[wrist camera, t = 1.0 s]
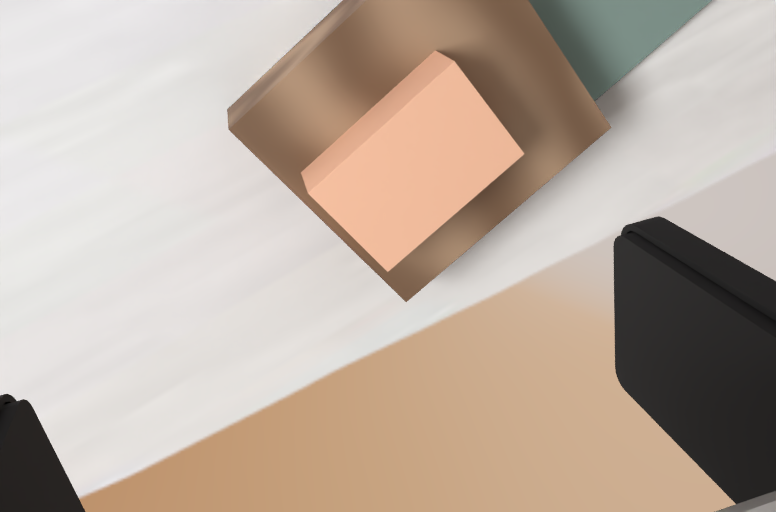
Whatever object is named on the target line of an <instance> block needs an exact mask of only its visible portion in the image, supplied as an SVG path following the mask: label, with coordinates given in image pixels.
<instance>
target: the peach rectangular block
mask: <svg viewBox="0 0 776 512" xmlns="http://www.w3.org/2000/svg"><path fill="white" fill-rule="evenodd" d="M523 155H524V153H523V151H522V150H521V149H520V147H519V146H518V145H517V143H516V142H515V141H514V139H513V138H512V137H511V135H510V134H509V133H508V131H507V130H506V129H505V127H504V126H503V125H502V123H501V122H500V121H499V119H498V118H497V117H496V115H495V114H494V113H493V112H492V110H491V109H490V108H489V106H488V105H487V104H486V102H485V101H484V100H483V98H482V97H481V96H480V94H479V93H478V92H477V90H476V89H475V88H474V86H473V85H472V84H471V82H470V81H469V80H468V78H467V77H466V76H465V74H464V73H463V72H462V70H461V69H460V68H459V67H458V65H457V64H456V63H455V61H453V60H452V59H450V58H448V57H446V56H444V55H443V54H441V53H439V52H437V51H436V50H435V51H434V52H433V53H432V54H431V55H430V56H429V57H427V58H426V59H425V60H424V61H423V62H422V63H421V64H420V65H419V66H418V67H416V68H415V69H414V70H413V71H412V72H411V73H410V74H409V75H408V76H407V77H405V78H404V79H403V80H402V81H401V82H400V83H399V84H398V85H397V86H396V87H394V88H393V89H392V90H391V91H390V92H389V93H388V94H387V95H386V96H385V97H383V98H382V99H381V100H380V101H379V102H378V103H377V104H376V105H375V106H374V107H372V108H371V109H370V110H369V111H368V112H367V113H366V114H365V115H364V116H362V117H361V118H360V119H359V120H358V121H357V122H356V123H355V124H354V125H353V126H351V127H350V128H349V129H348V130H347V131H346V132H345V133H344V134H343V135H342V136H340V137H339V138H338V139H337V140H336V141H335V142H334V143H333V144H332V145H331V146H329V147H328V148H327V149H326V150H325V151H324V152H323V153H322V154H321V155H320V156H318V157H317V158H316V159H315V160H314V161H313V162H312V163H311V164H310V165H309V166H307V167H306V168H305V169H304V170H303V171H302V172H301V175H302V177H303V180H304V183H305V186H306V189H307V192H308V194H309V195H310V196H311V197H312V198H313V199H314V200H315V201H316V202H317V203H318V204H319V205H320V206H321V207H322V208H323V209H324V210H325V211H326V212H327V213H328V214H329V215H330V216H332V217H333V218H334V219H335V220H336V221H337V222H338V223H339V224H340V225H341V226H342V227H343V228H344V229H345V230H346V231H347V232H348V233H349V234H350V235H351V236H352V237H353V238H354V239H355V240H356V241H357V242H358V243H359V244H360V245H361V246H362V247H363V248H364V249H365V250H366V251H367V252H368V253H369V254H370V255H371V256H372V257H373V258H374V259H375V260H376V261H377V262H378V263H379V264H380V265H381V266H382V267H383V268H384V269H385V270H386V271H387V272H388V271H390V270H391V269H392V268H393V267H394V266H395V265H397V264H398V263H399V262H400V261H401V260H402V259H403V258H405V257H406V256H407V255H408V254H409V253H410V252H412V251H413V250H414V249H415V248H416V247H417V246H419V245H420V244H421V243H422V242H423V241H424V240H425V239H427V238H428V237H429V236H430V235H431V234H432V233H434V232H435V231H436V230H437V229H438V228H439V227H441V226H442V225H443V224H444V223H445V222H446V221H447V220H449V219H450V218H451V217H452V216H453V215H454V214H456V213H457V212H458V211H459V210H460V209H461V208H463V207H464V206H465V205H466V204H467V203H468V202H469V201H471V200H472V199H473V198H474V197H475V196H476V195H478V194H479V193H480V192H481V191H482V190H483V189H485V188H486V187H487V186H488V185H489V184H490V183H491V182H493V181H494V180H495V179H496V178H497V177H498V176H500V175H501V174H502V173H503V172H504V171H505V170H507V169H508V168H509V167H510V166H511V165H512V164H513V163H515V162H516V161H517V160H518V159H519V158H520V157H522V156H523Z"/></svg>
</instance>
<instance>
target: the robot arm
mask: <svg viewBox="0 0 776 512" xmlns="http://www.w3.org/2000/svg"><path fill="white" fill-rule="evenodd" d="M614 308H615V369H616V374H617V377H618V380H619V382H620V384H621V386H622V387H623V388H624V390H625V391H626V392H627V393H628V394H629V395H630V396H631V397H632V398H633V399H634V400H635V401H636V402H637V403H638V404H639V405H640V406H641V407H642V408H643V409H644V410H645V411H646V412H647V413H648V414H649V415H650V416H651V417H652V418H653V419H654V420H655V421H656V423H657V424H658V425H659V426H660V427H661V428H662V429H663V430H664V431H665V432H666V433H667V434H668V435H669V436H670V437H671V438H672V439H673V440H674V441H675V442H676V443H677V444H678V445H679V446H680V447H681V448H682V449H683V450H684V451H685V452H686V453H687V454H688V455H689V456H690V457H691V458H692V459H693V460H694V461H695V462H696V463H697V464H698V465H699V467H700V468H701V469H702V470H704V472H705V473H706V474H707V475H708V476H709V477H710V478H711V479H712V480H713V481H714V482H715V483H716V484H717V485H718V486H719V487H720V488H721V489H722V490H723V491H724V492H725V493H726V494H727V495H728V496H729V497H730V498H731V499H732V500H733V501H734V502H735V503H736V505H733V506H730V507H727V508H725V509H721V510H719V511H716V512H776V281H774V280H773V279H771V278H769V277H767V276H765V275H764V274H762V273H760V272H758V271H757V270H755V269H753V268H751V267H750V266H748V265H746V264H744V263H742V262H741V261H739V260H737V259H735V258H734V257H732V256H730V255H728V254H727V253H725V252H723V251H721V250H720V249H718V248H716V247H714V246H712V245H711V244H709V243H707V242H705V241H704V240H702V239H700V238H698V237H696V236H694V235H693V234H691V233H689V232H688V231H686V230H684V229H682V228H681V227H678V226H677V225H675V224H674V223H672V222H670V221H668V220H666V219H665V218H662V217H654V218H651V219H647V220H643V221H640V222H636V223H632V224H629V225H626V226H625V227H624V228H623V230H622V232H621V236H618V237H617V238H616V239H615V241H614ZM0 512H85V510H84V508H83V506H82V504H81V502H80V500H79V498H78V496H77V494H76V492H75V490H74V488H73V486H72V484H71V482H70V480H69V478H68V477H67V475H66V473H65V471H64V469H63V467H62V465H61V463H60V461H59V459H58V457H57V455H56V453H55V451H54V449H53V447H52V445H51V443H50V441H49V439H48V437H47V435H46V433H45V431H44V429H43V427H42V425H41V423H40V421H39V419H38V417H37V415H36V413H35V411H34V409H33V407H32V406H31V404H30V403H29V402H28V401H27V400H24V399H23V400H20V401H16V400H15V398H13V397H12V396H11V395H9V394H4V395H1V396H0Z"/></svg>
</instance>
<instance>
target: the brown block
mask: <svg viewBox="0 0 776 512" xmlns="http://www.w3.org/2000/svg"><path fill="white" fill-rule="evenodd" d="M435 50H436V51H437V52H439V53H441V54H443V55H444V56H446V57H448V58H450V59H452V60H453V61H455V63H456V64H457V65H458V67H459V68H460V69H461V70H462V72H463V73H464V74H465V76H466V77H467V78H468V80H469V81H470V82H471V84H472V85H473V86H474V88H475V89H476V90H477V92H478V93H479V94H480V96H481V97H482V98H483V100H484V101H485V102H486V104H487V105H488V106H489V108H490V109H491V110H492V112H493V113H494V114H495V115H496V117H497V118H498V119H499V121H500V122H501V123H502V125H503V126H504V127H505V129H506V130H507V131H508V133H509V134H510V135H511V137H512V138H513V139H514V141H515V142H516V143H517V145H518V146H519V147H520V149H521V150H522V151H523V153H524V155H523V156H522V157H520V158H519V159H518V160H517V161H516V162H515V163H513V164H512V165H511V166H510V167H509V168H508V169H507V170H505V171H504V172H503V173H502V174H501V175H500V176H498V177H497V178H496V179H495V180H494V181H493V182H491V183H490V184H489V185H488V186H487V187H486V188H485V189H483V190H482V191H481V192H480V193H479V194H478V195H476V196H475V197H474V198H473V199H472V200H471V201H469V202H468V203H467V204H466V205H465V206H464V207H463V208H461V209H460V210H459V211H458V212H457V213H456V214H454V215H453V216H452V217H451V218H450V219H449V220H447V221H446V222H445V223H444V224H443V225H442V226H441V227H439V228H438V229H437V230H436V231H435V232H434V233H432V234H431V235H430V236H429V237H428V238H427V239H425V240H424V241H423V242H422V243H421V244H420V245H419V246H417V247H416V248H415V249H414V250H413V251H412V252H410V253H409V254H408V255H407V256H406V257H405V258H403V259H402V260H401V261H400V262H399V263H398V264H397V265H395V266H394V267H393V268H392V269H391V270H390V271H388V272H387V271H386V270H385V269H384V268H383V267H382V266H381V265H380V264H379V263H378V262H377V261H376V260H375V259H374V258H373V257H372V256H371V255H370V254H369V253H368V252H367V251H366V250H365V249H364V248H363V247H362V246H361V245H360V244H359V243H358V242H357V241H356V240H355V239H354V238H353V237H352V236H351V235H350V234H349V233H348V232H347V231H346V230H345V229H344V228H343V227H342V226H341V225H340V224H339V223H338V222H337V221H336V220H335V219H334V218H333V217H332V216H330V215H329V214H328V213H327V212H326V211H325V210H324V209H323V208H322V207H321V206H320V205H319V204H318V203H317V202H316V201H315V200H314V199H313V198H312V197H311V196H310V195H309V194H308V192H307V189H306V186H305V183H304V180H303V177H302V175H301V172H302V171H303V170H304V169H305V168H306V167H307V166H309V165H310V164H311V163H312V162H313V161H314V160H315V159H316V158H317V157H318V156H320V155H321V154H322V153H323V152H324V151H325V150H326V149H327V148H328V147H329V146H331V145H332V144H333V143H334V142H335V141H336V140H337V139H338V138H339V137H340V136H342V135H343V134H344V133H345V132H346V131H347V130H348V129H349V128H350V127H351V126H353V125H354V124H355V123H356V122H357V121H358V120H359V119H360V118H361V117H362V116H364V115H365V114H366V113H367V112H368V111H369V110H370V109H371V108H372V107H374V106H375V105H376V104H377V103H378V102H379V101H380V100H381V99H382V98H383V97H385V96H386V95H387V94H388V93H389V92H390V91H391V90H392V89H393V88H394V87H396V86H397V85H398V84H399V83H400V82H401V81H402V80H403V79H404V78H405V77H407V76H408V75H409V74H410V73H411V72H412V71H413V70H414V69H415V68H416V67H418V66H419V65H420V64H421V63H422V62H423V61H424V60H425V59H426V58H427V57H429V56H430V55H431V54H432V53H433V52H434V51H435ZM227 112H228V127H229V130H230V131H231V132H232V133H233V134H234V135H235V136H236V137H237V138H238V139H239V140H240V141H241V142H242V143H243V144H244V145H245V146H246V147H247V148H248V149H249V150H250V151H251V152H252V153H253V154H254V155H255V156H256V157H257V158H258V159H259V160H261V161H262V162H263V163H264V164H265V165H266V166H267V167H268V168H269V169H270V170H271V171H272V172H273V173H274V174H275V175H276V176H277V177H278V178H279V179H280V180H281V181H282V182H283V183H284V184H285V185H286V186H287V187H288V188H289V189H290V190H291V191H292V192H293V193H294V194H295V195H297V196H298V197H299V198H300V199H301V200H302V201H303V202H304V203H305V204H306V205H307V206H308V207H309V208H310V209H311V210H312V211H313V212H314V213H315V214H316V215H317V216H318V217H319V218H320V219H321V220H322V221H323V222H324V223H325V224H326V225H327V226H328V227H329V228H330V229H331V230H333V231H334V232H335V233H336V234H337V235H338V236H339V237H340V238H341V239H342V240H343V241H344V242H345V243H346V244H347V245H348V246H349V247H350V248H351V249H352V250H353V251H354V252H355V253H356V254H357V255H358V256H359V257H360V258H361V259H362V260H363V261H364V262H365V263H366V264H367V265H369V266H370V267H371V268H372V269H373V270H374V271H375V272H376V273H377V274H378V275H379V276H380V277H381V278H382V279H383V280H384V281H385V282H386V283H387V284H388V285H389V286H390V287H391V288H392V289H393V290H394V291H395V292H396V293H397V294H398V295H399V296H400V297H401V298H402V299H403V300H405V301H406V302H407V301H408V300H409V299H410V298H412V297H413V296H414V295H415V294H416V293H418V292H419V291H420V290H421V289H422V288H423V287H425V286H426V285H427V284H428V283H429V282H430V281H432V280H433V279H434V278H435V277H436V276H437V275H439V274H440V273H441V272H442V271H443V270H445V269H446V268H447V267H448V266H449V265H450V264H452V263H453V262H454V261H455V260H456V259H457V258H459V257H460V256H461V255H462V254H463V253H464V252H466V251H467V250H468V249H469V248H470V247H472V246H473V245H474V244H475V243H476V242H477V241H479V240H480V239H481V238H482V237H483V236H484V235H486V234H487V233H488V232H489V231H490V230H491V229H493V228H494V227H495V226H496V225H497V224H499V223H500V222H501V221H502V220H503V219H504V218H506V217H507V216H508V215H509V214H510V213H511V212H513V211H514V210H515V209H516V208H517V207H518V206H520V205H521V204H522V203H523V202H524V201H526V200H527V199H528V198H529V197H530V196H531V195H533V194H534V193H535V192H536V191H537V190H538V189H540V188H541V187H542V186H543V185H544V184H545V183H547V182H548V181H549V180H550V179H551V178H553V177H554V176H555V175H556V174H557V173H558V172H560V171H561V170H562V169H563V168H564V167H565V166H567V165H568V164H569V163H570V162H571V161H572V160H574V159H575V158H576V157H577V156H578V155H580V154H581V153H582V152H583V151H584V150H585V149H587V148H588V147H589V146H590V145H591V144H592V143H594V142H595V141H596V140H597V139H598V138H599V137H601V136H602V135H603V134H604V133H605V132H607V131H608V130H609V129H610V128H611V126H610V125H609V123H608V122H607V120H606V119H605V117H604V116H603V114H602V113H601V111H600V109H599V108H598V106H597V105H596V103H595V102H594V100H593V99H592V97H591V96H590V94H589V93H588V91H587V90H586V88H585V86H584V85H583V83H582V82H581V80H580V79H579V77H578V76H577V74H576V73H575V71H574V70H573V68H572V66H571V65H570V63H569V62H568V60H567V59H566V57H565V56H564V54H563V53H562V51H561V50H560V48H559V47H558V45H557V43H556V42H555V40H554V39H553V37H552V36H551V34H550V33H549V31H548V30H547V28H546V27H545V25H544V23H543V22H542V20H541V19H540V17H539V16H538V14H537V13H536V11H535V10H534V8H533V7H532V5H531V4H530V2H529V0H343V1H342V2H341V3H340V4H339V5H338V6H337V7H335V8H334V9H333V10H332V11H331V12H330V13H329V14H328V15H327V16H326V17H325V18H324V19H323V20H322V21H321V22H320V23H318V24H317V25H316V26H315V27H314V28H313V29H312V30H311V31H310V32H309V33H308V34H307V35H306V36H305V37H304V38H303V39H302V40H300V41H299V42H298V43H297V44H296V45H295V46H294V47H293V48H292V49H291V50H290V51H289V52H288V53H287V54H286V55H285V56H284V57H282V58H281V59H280V60H279V61H278V62H277V63H276V64H275V65H274V66H273V67H272V68H271V69H270V70H269V71H268V72H267V73H265V74H264V75H263V76H262V77H261V78H260V79H259V80H258V81H257V82H256V83H255V84H254V85H253V86H252V87H251V88H250V89H249V90H247V91H246V92H245V93H244V94H243V95H242V96H241V97H240V98H239V99H238V100H237V101H236V102H235V103H234V104H233V105H232V106H231V107H229V108H228V109H227Z"/></svg>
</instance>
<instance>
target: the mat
mask: <svg viewBox="0 0 776 512" xmlns="http://www.w3.org/2000/svg"><path fill="white" fill-rule="evenodd" d="M710 1H712V0H529V2H530V4H531V5H532V7H533V8H534V10H535V11H536V13H537V14H538V16H539V17H540V19H541V20H542V22H543V23H544V25H545V27H546V28H547V30H548V31H549V33H550V34H551V36H552V37H553V39H554V40H555V42H556V43H557V45H558V47H559V48H560V50H561V51H562V53H563V54H564V56H565V57H566V59H567V60H568V62H569V63H570V65H571V66H572V68H573V70H574V71H575V73H576V74H577V76H578V77H579V79H580V80H581V82H582V83H583V85H584V86H585V88H586V90H587V91H588V93H589V94H590V96H591V97H592V99H593V100H594V101H595V100H597V99H598V98H599V97H600V96H601V95H602V94H604V93H605V92H606V91H607V90H608V89H609V88H611V87H612V86H613V85H614V84H615V83H616V82H618V81H619V80H620V79H621V78H622V77H623V76H625V75H626V74H627V73H628V72H629V71H630V70H631V69H633V68H634V67H635V66H636V65H637V64H638V63H640V62H641V61H642V60H643V59H644V58H645V57H647V56H648V55H649V54H650V53H651V52H652V51H654V50H655V49H656V48H657V47H658V46H659V45H660V44H662V43H663V42H664V41H665V40H666V39H667V38H669V37H670V36H671V35H672V34H673V33H674V32H676V31H677V30H678V29H679V28H680V27H681V26H683V25H684V24H685V23H686V22H687V21H688V20H689V19H691V18H692V17H693V16H694V15H695V14H696V13H698V12H699V11H700V10H701V9H702V8H703V7H705V6H706V5H707V4H708V3H709V2H710Z"/></svg>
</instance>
